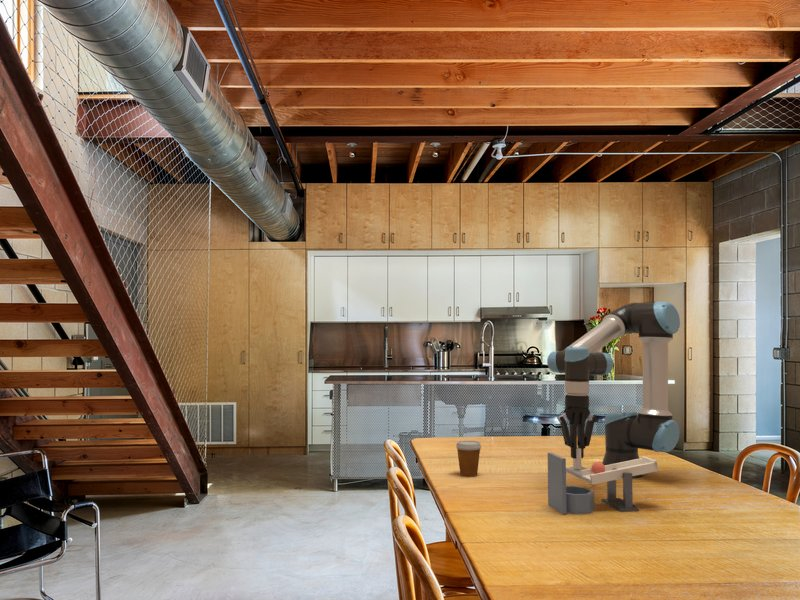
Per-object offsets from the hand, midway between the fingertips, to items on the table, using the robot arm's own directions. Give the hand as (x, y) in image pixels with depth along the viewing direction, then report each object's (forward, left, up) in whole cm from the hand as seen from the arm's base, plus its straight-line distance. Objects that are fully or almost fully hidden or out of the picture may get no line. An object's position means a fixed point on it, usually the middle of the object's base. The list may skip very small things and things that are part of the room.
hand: (577, 468), depth 199 cm
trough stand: (-9, +10, -10) cm, 16 cm away
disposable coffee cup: (+24, -39, -10) cm, 47 cm away
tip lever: (-9, +5, -1) cm, 10 cm away
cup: (+6, +10, -10) cm, 15 cm away
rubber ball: (-2, +10, +2) cm, 10 cm away
